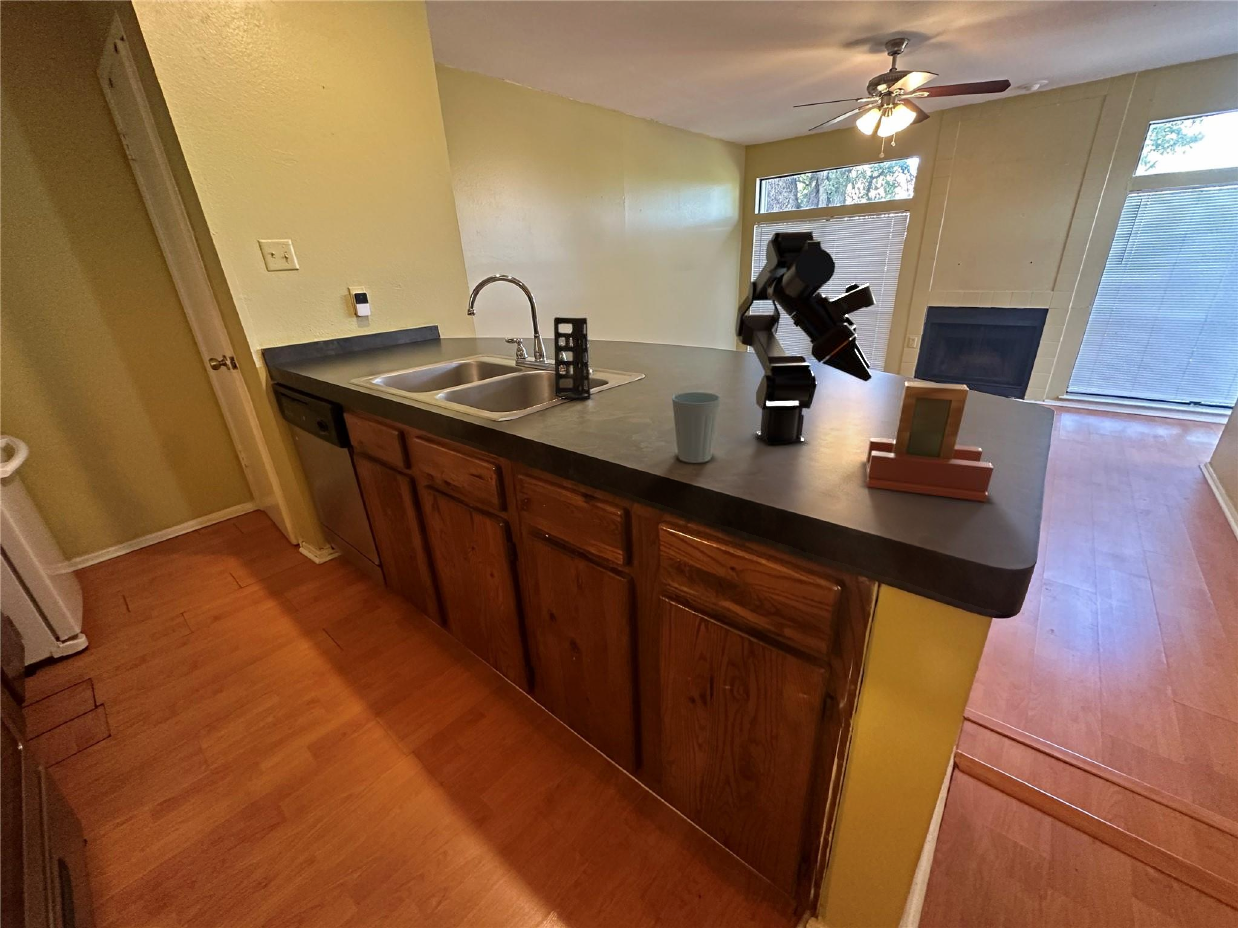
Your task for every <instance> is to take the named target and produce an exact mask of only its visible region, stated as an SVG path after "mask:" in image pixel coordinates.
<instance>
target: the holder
mask: <svg viewBox="0 0 1238 928" xmlns="http://www.w3.org/2000/svg"><path fill="white" fill-rule="evenodd" d="M560 325H571V332H560ZM560 339H564V346H561V345H560ZM553 340H554V341H553V342H554V345H553V346H554V380H555V381H554V385H555V388H554V389H555V390H554V391H555V395H554V396H555V397H558V398H563V399H566V400H567V399H569V400H577V401H579V400H580V401H581V400H582V401H586V400H591V397H592V396H591V395H592V394H591V382H590V367H589V366H590V365H589V335H588V317H559V316H558V317H557V316H556V317H554V318H553ZM571 343H572V344H571ZM560 353H572V354H571V355H572V358H571V360H562V359H560ZM563 366H564V367H565V373H561V371H560V370H561V369H560V367H563ZM571 366H572V371H571ZM561 380H572V387H571V386H568V387H567V386H563V387H562V386H561ZM586 381H587V382H586ZM586 383H587V384H586ZM586 385H587V386H586Z"/></svg>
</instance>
